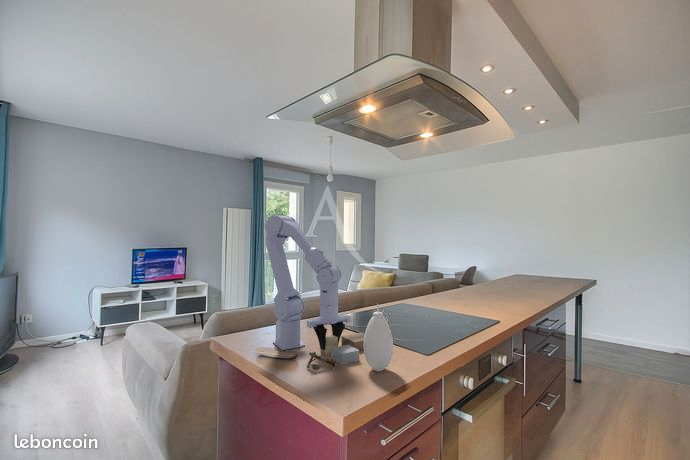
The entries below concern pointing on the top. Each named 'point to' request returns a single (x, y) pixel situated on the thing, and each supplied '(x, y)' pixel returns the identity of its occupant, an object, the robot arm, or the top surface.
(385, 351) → the sauce bottle
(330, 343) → the maple block
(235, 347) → the top surface
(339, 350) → the slate grey block
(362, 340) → the tan square slab
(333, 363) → the toy blunderbuss
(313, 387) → the top surface
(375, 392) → the top surface
